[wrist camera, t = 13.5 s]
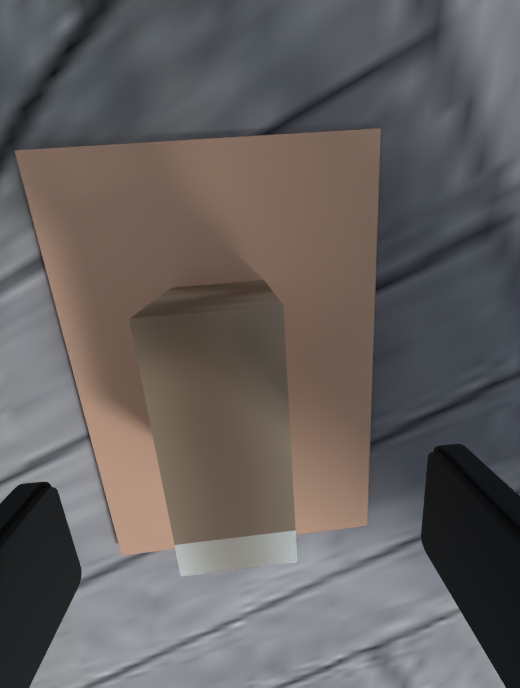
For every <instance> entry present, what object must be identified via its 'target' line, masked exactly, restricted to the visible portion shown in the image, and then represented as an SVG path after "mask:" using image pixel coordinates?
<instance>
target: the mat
mask: <svg viewBox="0 0 520 688" xmlns="http://www.w3.org/2000/svg"><path fill="white" fill-rule="evenodd" d="M380 140H381V128H375V129H359V130H342V131H326V132H309V133H293V134H276V135H260V136H244V137H227V138H211V139H194V140H178V141H161V142H145V143H128V144H112V145H95V146H79V147H62V148H46V149H29V150H14V151H15V155H16V158H17V162H18V166H19V170H20V173H21V177H22V181H23V185H24V189H25V192H26V196H27V200H28V204H29V207H30V211H31V215H32V219H33V223H34V226H35V230H36V234H37V238H38V241H39V245H40V249H41V253H42V257H43V260H44V264H45V268H46V272H47V275H48V279H49V283H50V287H51V291H52V294H53V298H54V302H55V306H56V309H57V313H58V317H59V321H60V325H61V328H62V332H63V336H64V340H65V343H66V347H67V351H68V355H69V359H70V362H71V366H72V370H73V374H74V377H75V381H76V385H77V389H78V393H79V396H80V400H81V404H82V408H83V411H84V415H85V419H86V423H87V427H88V430H89V434H90V438H91V442H92V445H93V449H94V453H95V457H96V461H97V464H98V468H99V472H100V476H101V479H102V483H103V487H104V491H105V495H106V498H107V502H108V506H109V510H110V513H111V517H112V521H113V525H114V529H115V532H116V536H117V540H118V544H119V547H120V551H121V555H128V554H137V553H145V552H153V551H162V550H170V549H175V545H174V540H173V535H172V530H171V525H170V520H169V515H168V510H167V505H166V500H165V495H164V490H163V485H162V480H161V475H160V470H159V465H158V460H157V455H156V450H155V445H154V440H153V435H152V430H151V425H150V420H149V415H148V410H147V405H146V400H145V395H144V390H143V385H142V380H141V375H140V371H139V366H138V361H137V356H136V351H135V346H134V341H133V336H132V331H131V326H130V321H129V318H131V317H132V316H134V315H135V314H136V313H138V312H139V311H140V310H142V309H143V308H145V307H146V306H147V305H149V304H150V303H152V302H153V301H154V300H156V299H157V298H158V297H160V296H161V295H163V294H164V293H165V292H167V291H168V290H169V289H171V288H174V287H186V286H198V285H210V284H222V283H234V282H245V281H257V280H265V282H266V283H267V284H268V286H269V287H270V288H271V290H272V291H273V292H274V293H275V295H276V296H277V297H278V299H279V300H280V301H281V303H282V304H283V305H284V324H285V342H286V361H287V380H288V398H289V417H290V436H291V454H292V473H293V492H294V510H295V529H296V534H304V533H312V532H320V531H329V530H337V529H345V528H354V527H362V526H367V520H368V491H369V462H370V433H371V403H372V374H373V345H374V316H375V286H376V257H377V228H378V199H379V170H380Z"/></svg>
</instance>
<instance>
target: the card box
mask: <svg viewBox="0 0 520 688" xmlns="http://www.w3.org/2000/svg"><path fill="white" fill-rule="evenodd" d="M129 321H130V326H131V331H132V336H133V341H134V346H135V351H136V356H137V361H138V366H139V371H140V375H141V380H142V385H143V390H144V395H145V400H146V405H147V410H148V415H149V420H150V425H151V430H152V435H153V440H154V445H155V450H156V455H157V460H158V465H159V470H160V475H161V480H162V485H163V490H164V495H165V500H166V505H167V510H168V515H169V520H170V525H171V530H172V535H173V540H174V545H175V550H176V555H177V560H178V565H179V570H180V575H181V576H189V575H197V574H205V573H213V572H221V571H229V570H237V569H245V568H253V567H261V566H269V565H277V564H285V563H293V562H297V547H296V529H295V510H294V492H293V473H292V454H291V436H290V417H289V398H288V380H287V361H286V342H285V324H284V305H283V304H282V303H281V301H280V300H279V299H278V297H277V296H276V295H275V293H274V292H273V291H272V290H271V288H270V287H269V286H268V284H267V283H266V282H265V280H257V281H245V282H234V283H222V284H210V285H198V286H186V287H174V288H171V289H169V290H168V291H167V292H165V293H164V294H163V295H161V296H160V297H158V298H157V299H156V300H154V301H153V302H152V303H150V304H149V305H147V306H146V307H145V308H143V309H142V310H140V311H139V312H138V313H136V314H135V315H134V316H132V317H131V318H129Z"/></svg>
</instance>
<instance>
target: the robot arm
mask: <svg viewBox="0 0 520 688" xmlns="http://www.w3.org/2000/svg"><path fill="white" fill-rule="evenodd" d="M421 539H422V543H423V547H424V549H425V551H426V553H427V555H428V557H429V558H430V560H431V562H432V563H433V565H434V567H435V568H436V570H437V572H438V574H439V575H440V577H441V579H442V580H443V582H444V584H445V585H446V587H447V589H448V590H449V592H450V594H451V595H452V597H453V599H454V601H455V602H456V604H457V606H458V607H459V609H460V611H461V612H462V614H463V616H464V617H465V619H466V621H467V622H468V624H469V626H470V628H471V629H472V631H473V633H474V634H475V636H476V638H477V639H478V641H479V643H480V644H481V646H482V648H483V649H484V651H485V653H486V655H487V656H488V658H489V660H490V661H491V663H492V665H493V666H494V668H495V670H496V671H497V673H498V675H499V676H500V678H501V680H502V681H503V683H504V685H505V687H506V688H520V496H519V495H518V494H517V493H516V492H515V491H513V490H512V489H511V488H510V487H509V486H508V485H507V484H506V483H505V482H504V481H502V480H501V479H500V478H499V477H498V476H497V475H496V474H495V473H494V472H492V471H491V470H490V469H489V468H488V467H487V466H486V465H485V464H484V463H483V462H481V461H480V460H479V459H478V458H477V457H476V456H475V455H474V454H473V453H472V452H470V451H469V450H468V449H467V448H466V447H465V446H463V445H461V444H453V445H442V446H437V447H435V449H434V452H432V453H430V454H429V455H428V463H427V474H426V486H425V497H424V509H423V520H422V532H421ZM80 580H81V566H80V563H79V560H78V556H77V553H76V550H75V547H74V543H73V540H72V537H71V533H70V530H69V527H68V524H67V520H66V517H65V514H64V510H63V507H62V504H61V500H60V497H59V494H58V491H57V489H56V488H54V487H51V485H50V484H49V483H48V482H37V483H26V484H21V485H18V486H17V487H16V488H15V489H14V490H13V491H12V492H11V493H10V494H9V495H8V496H7V497H6V498H5V499H4V500H3V501H2V502H1V503H0V688H29V687H30V685H31V682H32V680H33V678H34V676H35V674H36V672H37V670H38V668H39V666H40V664H41V662H42V660H43V658H44V656H45V654H46V652H47V650H48V648H49V646H50V644H51V642H52V640H53V638H54V635H55V633H56V631H57V629H58V627H59V625H60V623H61V621H62V619H63V617H64V615H65V613H66V611H67V609H68V607H69V605H70V603H71V601H72V599H73V597H74V595H75V593H76V590H77V588H78V586H79V584H80Z"/></svg>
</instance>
